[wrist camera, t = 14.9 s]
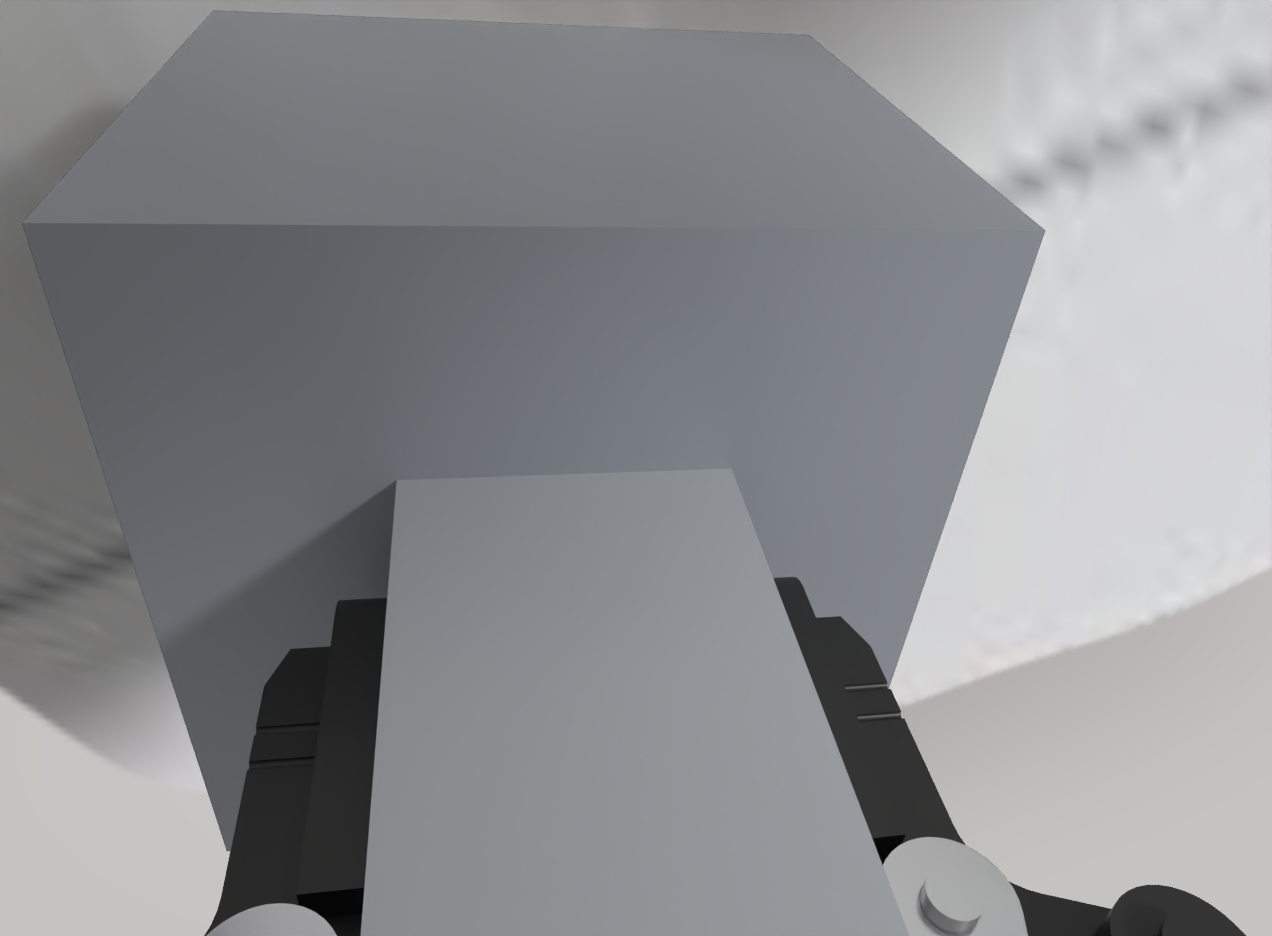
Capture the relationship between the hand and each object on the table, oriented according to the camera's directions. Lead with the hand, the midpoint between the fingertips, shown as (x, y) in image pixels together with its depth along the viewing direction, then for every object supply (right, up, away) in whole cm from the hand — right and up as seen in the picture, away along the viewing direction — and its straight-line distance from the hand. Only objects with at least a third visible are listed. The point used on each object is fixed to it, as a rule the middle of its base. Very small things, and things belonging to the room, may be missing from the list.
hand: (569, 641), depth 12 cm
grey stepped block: (-1, +6, +8) cm, 10 cm away
